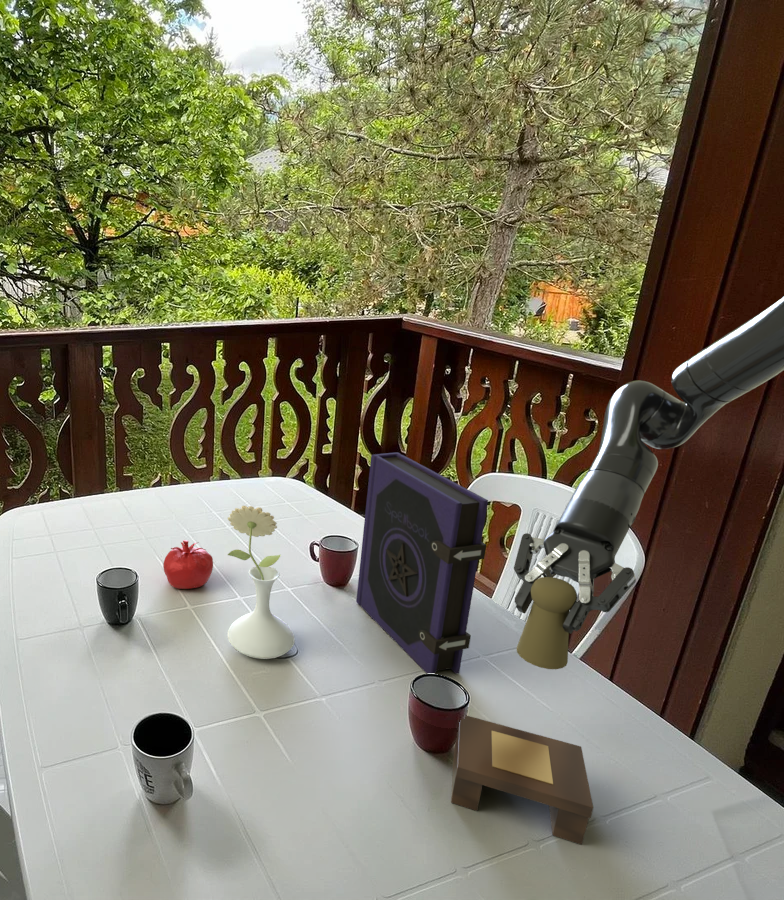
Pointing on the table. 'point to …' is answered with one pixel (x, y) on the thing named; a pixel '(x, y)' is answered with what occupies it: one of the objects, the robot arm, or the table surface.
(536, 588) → the cork
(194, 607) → the table surface
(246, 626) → the flower in vase
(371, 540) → the book
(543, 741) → the shelf
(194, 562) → the pomegranate
